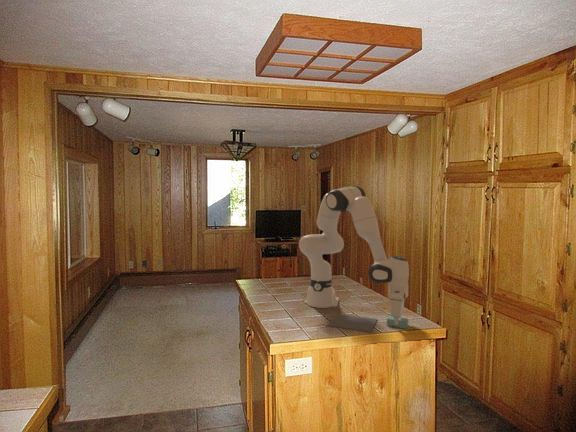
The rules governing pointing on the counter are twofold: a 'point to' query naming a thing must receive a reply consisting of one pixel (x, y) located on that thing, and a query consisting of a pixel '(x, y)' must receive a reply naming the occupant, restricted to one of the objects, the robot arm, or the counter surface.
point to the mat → (352, 322)
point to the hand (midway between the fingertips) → (397, 320)
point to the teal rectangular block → (402, 323)
